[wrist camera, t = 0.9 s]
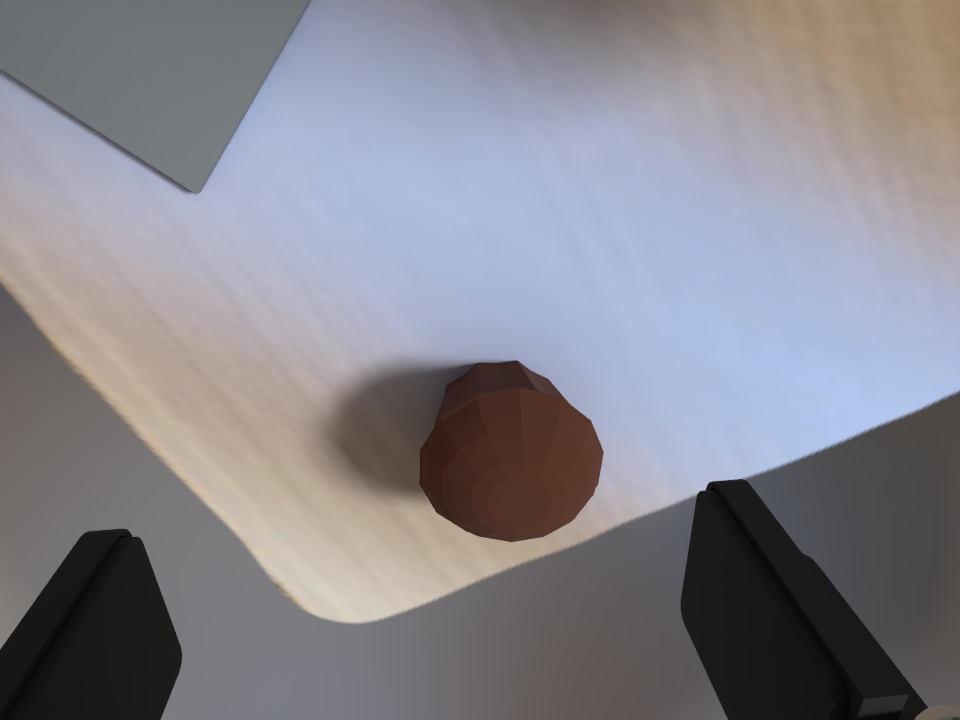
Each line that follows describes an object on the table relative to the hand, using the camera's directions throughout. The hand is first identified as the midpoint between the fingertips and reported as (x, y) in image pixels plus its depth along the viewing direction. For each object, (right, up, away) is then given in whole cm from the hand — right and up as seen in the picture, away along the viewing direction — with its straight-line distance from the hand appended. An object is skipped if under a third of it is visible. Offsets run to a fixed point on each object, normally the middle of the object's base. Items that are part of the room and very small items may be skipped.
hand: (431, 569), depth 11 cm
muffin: (+2, 0, +34) cm, 35 cm away
